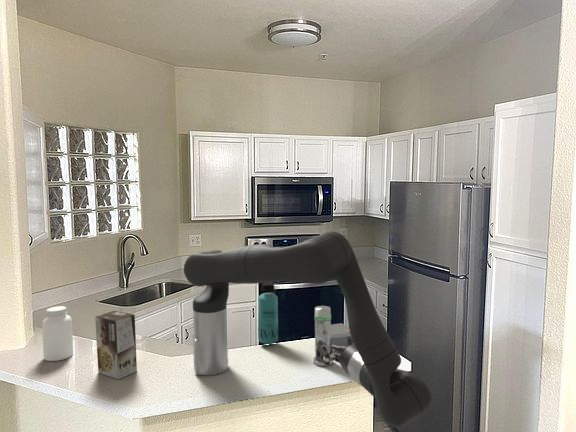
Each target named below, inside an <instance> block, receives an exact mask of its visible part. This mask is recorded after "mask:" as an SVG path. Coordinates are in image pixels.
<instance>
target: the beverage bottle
mask: <svg viewBox="0 0 576 432" xmlns="http://www.w3.org/2000/svg"><path fill="white" fill-rule="evenodd" d="M275 290H276V289H275V284H274V282H269V283H261V291H262V292H263V293H261V294H259V296H258V328H257V330H258V331H257V336H258V341H259V342H260V343H261V344H267V345H268V344H274V343H276V342H278V339H279V318H278V317H279V310H278V309H279V308H278V304H279V303H278V300H279V299H278V298H279V297H278V296H277V295H276V294H275V293H274V292H273V291H275Z"/></svg>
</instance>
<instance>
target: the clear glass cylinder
mask: <svg viewBox="0 0 576 432" xmlns="http://www.w3.org/2000/svg"><path fill="white" fill-rule="evenodd" d="M331 308H332V307H331V306H327V305H317V306H315V307H314V334H315V335H314V347H315V349H314V351H315V352H314V353H315V354H314V355H315V356H314V357H313V361H312V362H313V364H314V366H316V367H320V368H327V367H330V366H331V367H332V366H333V365H334V361H330V365H325V364H324V363H323V362H322V361H321V360H320V359H318V358H317V357H316V355H317V349H316V347H317V342H318V341H319V340H322V341H323V342H324V343H325V344H326V345H329V346H331V325H332V321H331V320H332V313H331V311H332V310H331ZM327 352H329V349H327Z"/></svg>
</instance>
